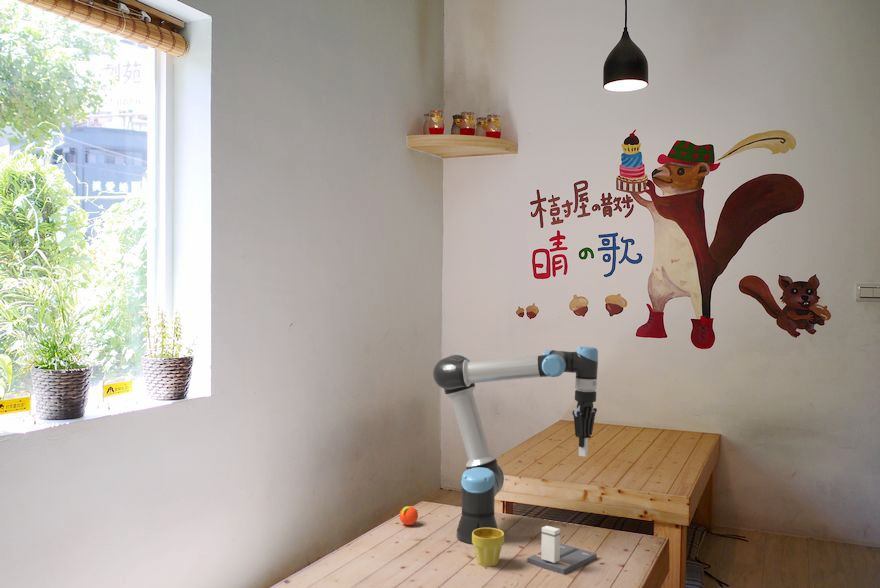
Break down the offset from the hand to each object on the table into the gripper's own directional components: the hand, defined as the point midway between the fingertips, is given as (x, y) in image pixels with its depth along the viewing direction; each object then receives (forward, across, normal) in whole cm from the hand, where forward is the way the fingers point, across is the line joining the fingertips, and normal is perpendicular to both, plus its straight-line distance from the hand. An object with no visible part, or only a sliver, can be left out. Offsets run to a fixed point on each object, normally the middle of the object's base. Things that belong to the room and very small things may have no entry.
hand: (582, 455), depth 266 cm
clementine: (+31, -35, +52) cm, 70 cm away
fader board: (+29, -25, -9) cm, 39 cm away
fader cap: (+27, -32, -9) cm, 43 cm away
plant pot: (+30, -43, +7) cm, 53 cm away
